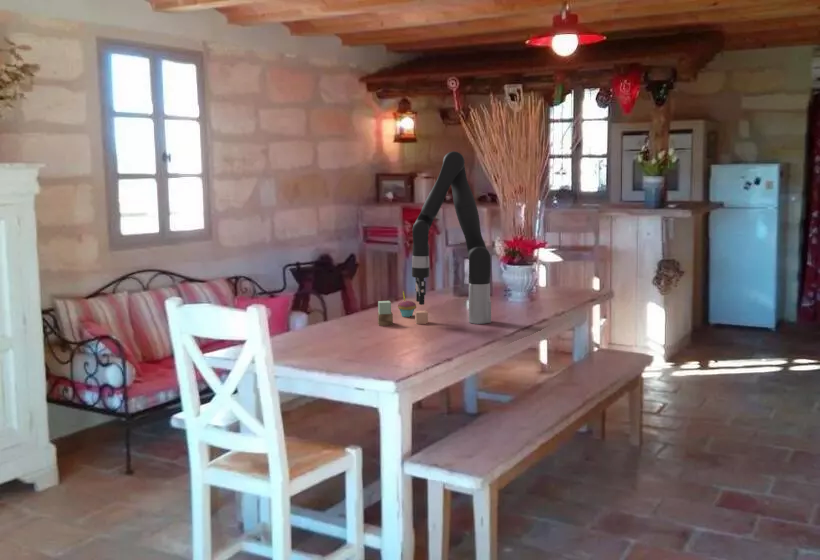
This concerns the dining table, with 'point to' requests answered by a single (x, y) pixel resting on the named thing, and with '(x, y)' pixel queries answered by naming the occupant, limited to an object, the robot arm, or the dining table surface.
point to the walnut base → (385, 319)
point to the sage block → (384, 307)
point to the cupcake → (406, 307)
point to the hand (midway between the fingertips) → (420, 303)
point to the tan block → (421, 317)
